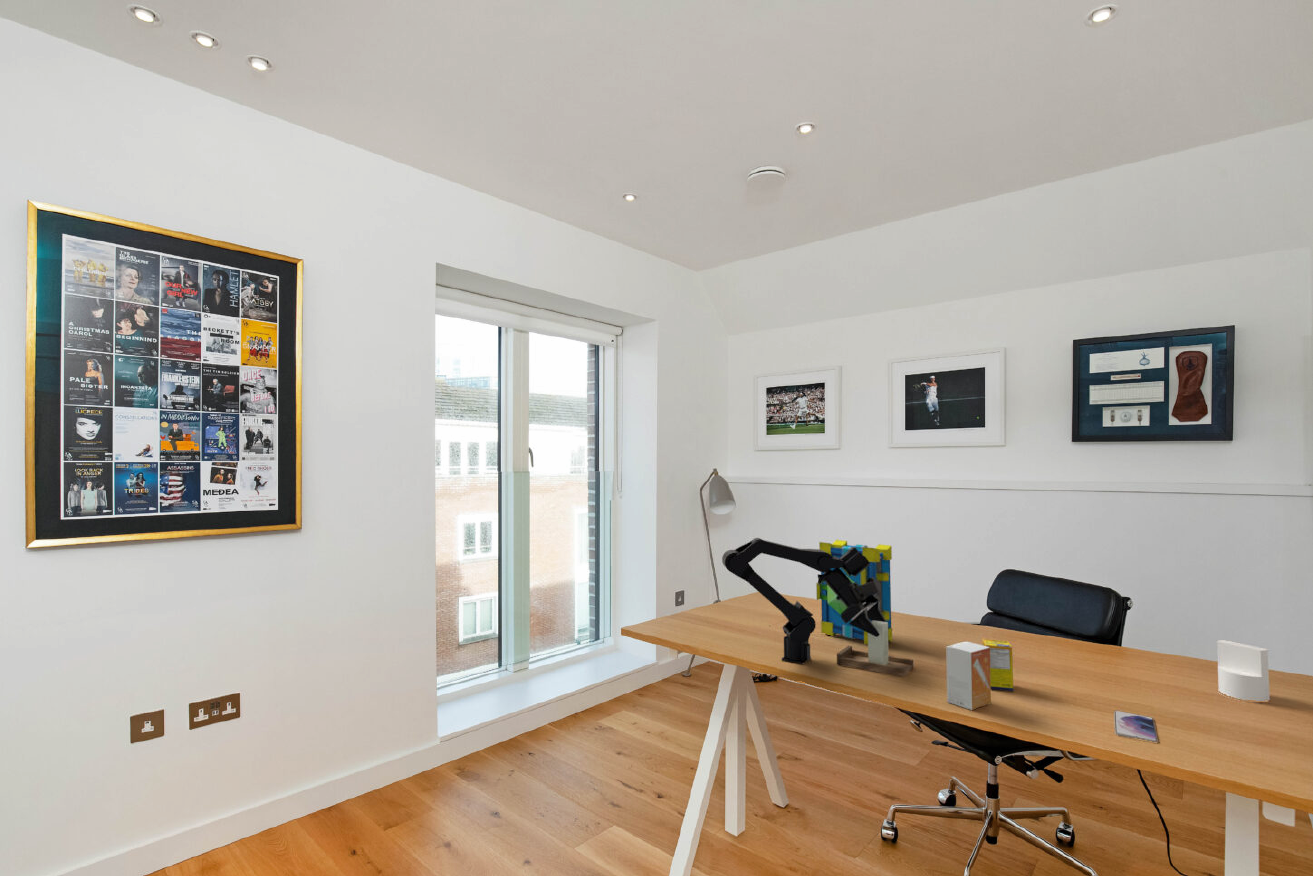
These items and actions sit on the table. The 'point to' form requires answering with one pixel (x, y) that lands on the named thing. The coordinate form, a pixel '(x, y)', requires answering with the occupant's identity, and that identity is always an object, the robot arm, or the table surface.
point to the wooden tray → (861, 662)
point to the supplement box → (1000, 664)
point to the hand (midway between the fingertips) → (883, 632)
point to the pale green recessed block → (878, 644)
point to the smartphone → (1134, 726)
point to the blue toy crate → (876, 569)
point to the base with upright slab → (1243, 671)
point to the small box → (968, 675)
